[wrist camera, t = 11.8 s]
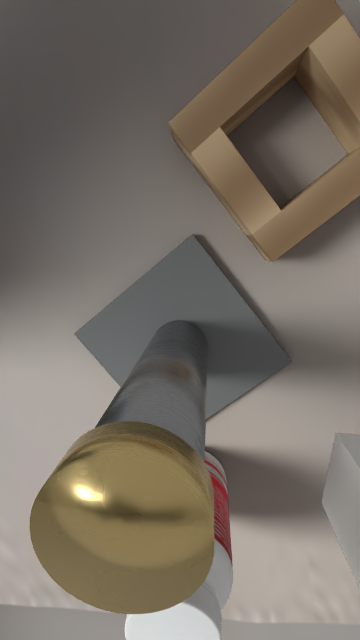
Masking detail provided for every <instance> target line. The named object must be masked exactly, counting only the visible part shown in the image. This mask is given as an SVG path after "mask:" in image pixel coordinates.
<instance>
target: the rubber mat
mask: <svg viewBox="0 0 360 640" xmlns="http://www.w3.org/2000/svg"><path fill="white" fill-rule="evenodd" d="M174 320H183V321H188V322H191V323H193V324H194V325H196V326H197V327H199V328H200V329H201V331H202V332H203V333H204V335H205V337H206V339H207V343H208V362H207V394H206V419H207V418H209V417H210V416H212V415H213V414H215V413H216V412H218V411H219V410H221V409H222V408H224V407H225V406H227V405H228V404H230V403H231V402H233V401H234V400H235V399H237V398H238V397H240V396H241V395H243V394H244V393H246V392H247V391H249V390H250V389H252V388H253V387H255V386H256V385H258V384H259V383H261V382H262V381H264V380H265V379H266V378H268V377H269V376H271V375H272V374H274V373H275V372H277V371H278V370H280V369H281V368H283V367H284V366H286V365H287V364H289V363H290V362H292V361H291V359H290V358H289V357H288V355H287V354H286V353H285V352H284V350H283V349H282V348H281V346H280V345H279V344H278V343H277V341H276V340H275V339H274V337H273V336H272V335H271V334H270V332H269V331H268V330H267V329H266V327H265V326H264V325H263V323H262V322H261V321H260V320H259V318H258V317H257V316H256V314H255V313H254V312H253V311H252V309H251V308H250V307H249V305H248V304H247V303H246V302H245V300H244V299H243V298H242V297H241V295H240V294H239V293H238V291H237V290H236V289H235V288H234V286H233V285H232V284H231V282H230V281H229V280H228V279H227V277H226V276H225V275H224V274H223V272H222V271H221V270H220V268H219V267H218V266H217V265H216V263H215V262H214V261H213V259H212V258H211V257H210V256H209V254H208V253H207V252H206V250H205V249H204V248H203V247H202V245H201V244H200V243H199V242H198V240H197V239H196V238H195V236H194V235H193V234H192V235H191V236H190V237H189V238H188V239H186V240H185V241H184V242H183V243H182V244H181V245H179V246H178V247H177V248H176V249H175V250H173V251H172V252H171V253H170V254H169V255H167V256H166V257H165V258H164V259H163V260H161V261H160V262H159V263H158V264H157V265H156V266H154V267H153V268H152V269H151V270H150V271H148V272H147V273H146V274H145V275H144V276H142V277H141V278H140V279H139V280H138V281H136V282H135V283H134V284H133V285H132V286H131V287H129V288H128V289H127V290H126V291H125V292H123V293H122V294H121V295H120V296H119V297H117V298H116V299H115V300H114V301H113V302H111V303H110V304H109V305H108V306H107V307H106V308H104V309H103V310H102V311H101V312H100V313H98V314H97V315H96V316H95V317H94V318H92V319H91V320H90V321H89V322H88V323H87V324H85V325H84V326H83V327H82V328H81V329H79V330H78V331H77V332H76V333H75V335H76V336H77V338H78V339H79V340H80V341H81V342H82V343H83V344H84V346H85V347H86V348H87V349H88V350H89V351H90V352H91V354H92V355H93V356H94V357H95V358H96V359H97V360H98V362H99V363H100V364H101V365H102V366H103V367H104V368H105V370H106V371H107V372H108V373H109V374H110V375H111V376H112V378H113V379H114V380H115V381H116V382H117V383H118V384H119V386H120V387H121V386H122V385H123V383H124V381H125V380H126V378H127V377H128V375H129V374H130V372H131V371H132V369H133V367H134V366H135V364H136V363H137V361H138V360H139V358H140V356H141V355H142V353H143V352H144V350H145V349H146V347H147V345H148V344H149V342H150V341H151V339H152V338H153V336H154V335H155V333H156V331H157V330H158V329H159V328H160V327H161V326H162V325H164V324H166V323H168V322H170V321H174Z"/></svg>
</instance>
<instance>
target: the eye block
mask: <svg viewBox="0 0 360 640" xmlns="http://www.w3.org/2000/svg"><path fill="white" fill-rule="evenodd" d="M293 76H295V78H296V79H297V81H298V82H299V84H300V85H301V87H302V88H303V89H304V91H305V92H306V94H307V95H308V97H309V98H310V100H311V101H312V103H313V104H314V105H315V107H316V108H317V110H318V111H319V113H320V114H321V116H322V117H323V119H324V120H325V122H326V123H327V124H328V126H329V127H330V129H331V130H332V132H333V133H334V135H335V136H336V138H337V139H338V140H339V142H340V143H341V145H342V146H343V148H344V149H345V151H346V152H347V154H348V155H347V156H345V157H344V158H343V159H342V160H340V161H339V162H338V163H337V164H335V165H334V166H333V167H332V168H330V169H329V170H328V171H327V172H325V173H324V174H323V175H322V176H320V177H319V178H318V179H317V180H315V181H314V182H313V183H312V184H310V185H309V186H308V187H307V188H305V189H304V190H303V191H302V192H300V193H299V194H298V195H297V196H295V197H294V198H293V199H292V200H290V201H289V202H288V203H287V204H285V205H284V206H283V207H282V208H281V209H280V208H279V207H278V205H277V204H276V203H275V201H274V200H273V199H272V197H271V196H270V195H269V193H268V192H267V190H266V189H265V188H264V186H263V185H262V184H261V182H260V181H259V180H258V178H257V177H256V175H255V174H254V173H253V171H252V170H251V169H250V167H249V166H248V165H247V163H246V162H245V160H244V159H243V158H242V156H241V155H240V154H239V152H238V151H237V150H236V148H235V147H234V145H233V144H232V143H231V141H230V140H229V139H228V137H227V136H228V135H229V134H230V133H231V132H232V131H233V130H234V129H235V128H237V127H238V126H239V125H240V124H241V123H242V122H243V121H244V120H245V119H247V118H248V117H249V116H250V115H251V114H252V113H253V112H254V111H256V110H257V109H258V108H259V107H260V106H261V105H262V104H263V103H264V102H266V101H267V100H268V99H269V98H270V97H271V96H272V95H273V94H274V93H276V92H277V91H278V90H279V89H280V88H281V87H282V86H283V85H285V84H286V83H287V82H288V81H289V80H290V79H291V78H292V77H293ZM168 124H169V127H170V130H171V133H172V135H173V138H174V140H175V142H176V143H177V144H178V146H179V147H180V148H181V150H182V151H183V152H184V154H185V155H186V156H187V158H188V159H189V160H190V162H191V163H192V164H193V165H194V167H195V168H196V169H197V171H198V172H199V173H200V175H201V176H202V177H203V179H204V180H205V181H206V183H207V184H208V185H209V187H210V188H211V189H212V191H213V192H214V193H215V194H216V196H217V197H218V198H219V200H220V201H221V202H222V204H223V205H224V206H225V208H226V209H227V210H228V212H229V213H230V214H231V216H232V217H233V218H234V220H235V221H236V222H237V224H238V225H239V226H240V227H241V229H242V230H243V231H244V233H245V234H246V235H247V237H248V238H249V239H250V241H251V242H252V243H253V245H254V246H255V247H256V249H257V250H258V251H259V253H260V254H261V255H262V257H263V258H264V259H265V260H268V261H272V262H274V261H275V260H276V259H277V258H279V257H280V256H281V255H283V254H284V253H285V252H287V251H288V250H289V249H291V248H292V247H293V246H294V245H296V244H297V243H298V242H300V241H301V240H302V239H304V238H305V237H306V236H308V235H309V234H310V233H311V232H313V231H314V230H315V229H317V228H318V227H319V226H321V225H322V224H323V223H324V222H326V221H327V220H328V219H330V218H331V217H332V216H334V215H335V214H336V213H338V212H339V211H340V210H341V209H343V208H344V207H345V206H347V205H348V204H349V203H351V202H352V201H353V200H355V199H356V198H357V197H358V196H360V38H359V37H358V35H357V34H356V32H355V31H354V29H353V27H352V26H351V24H350V23H349V21H348V20H347V18H346V17H345V15H344V14H343V12H342V10H341V9H340V7H339V6H338V4H337V3H336V1H335V0H296V1H295V2H294V3H293V4H292V5H291V6H290V7H289V8H288V9H287V10H286V11H285V12H284V13H283V14H282V15H280V16H279V17H278V18H277V19H276V20H275V21H274V22H273V23H272V24H271V25H270V26H269V27H268V28H267V29H266V30H265V31H264V32H263V33H262V34H261V35H260V36H258V37H257V38H256V39H255V40H254V41H253V42H252V43H251V44H250V45H249V46H248V47H247V48H246V49H245V50H244V51H243V52H242V53H241V54H240V55H239V56H237V57H236V58H235V59H234V60H233V61H232V62H231V63H230V64H229V65H228V66H227V67H226V68H225V69H224V70H223V71H222V72H221V73H220V74H219V75H218V76H217V77H215V78H214V79H213V80H212V81H211V82H210V83H209V84H208V85H207V86H206V87H205V88H204V89H203V90H202V91H201V92H200V93H199V94H198V95H197V96H196V97H194V98H193V99H192V100H191V101H190V102H189V103H188V104H187V105H186V106H185V107H184V108H183V109H182V110H181V111H180V112H179V113H178V114H177V115H176V116H175V117H174V118H172V119H171V120H170V121H169V122H168Z"/></svg>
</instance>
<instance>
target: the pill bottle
mask: <svg viewBox="0 0 360 640" xmlns="http://www.w3.org/2000/svg"><path fill="white" fill-rule="evenodd" d="M204 464H205V465H206V467H207V469H208V472H209V474H210V476H211V480H212V484H213V490H214V557H213V562H212V566H211V568H210V571H209V574H208V575H207V577H206V579H205V581H204V582H203V583H202V585H201V586H200V587H199V588H198V590H197V591H195V592H194V593H193V594H192V595H191V596H190V597H189V598H187V599H186V600H184V601H183V602H181V603H179V604H177V605H175V606H173V607H171V608H168V609H165V610H162V611H158V612H154V613H146V614H127V618H126V623H125V636H126V640H221V621H222V615H221V609H222V608H223V606H224V605H225V603H226V602H227V600H228V598H229V595H230V592H231V588H232V581H233V570H232V552H231V538H230V522H229V507H228V487H227V479H226V475H225V472H224V469H223V467H222V466H221V464H220V463H219V461H218V460H217V459H216V458H215V457H214V456H212V455H211V454H209V453H208V452H206V451H205V459H204Z"/></svg>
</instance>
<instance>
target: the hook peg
mask: <svg viewBox="0 0 360 640" xmlns="http://www.w3.org/2000/svg"><path fill="white" fill-rule="evenodd" d="M207 362H208V343H207V339H206V337H205V335H204V333H203V332H202V331H201V329H200V328H199V327H197V326H196V325H194V324H193V323H191V322H188V321H183V320H174V321H170V322H168V323H166V324H164V325H162V326H161V327H160V328H159V329H158V330H157V331H156V333H155V335H154V336H153V338H152V339H151V341H150V342H149V344H148V345H147V347H146V349H145V350H144V352H143V353H142V355H141V356H140V358H139V360H138V361H137V363H136V364H135V366H134V367H133V369H132V371H131V372H130V374H129V375H128V377H127V378H126V380H125V381H124V383H123V385H122V386H121V388H120V389H119V391H118V392H117V394H116V396H115V397H114V399H113V400H112V402H111V403H110V405H109V407H108V408H107V410H106V411H105V413H104V414H103V416H102V417H101V419H100V421H99V422H98V424H97V425H96V427H95V428H94V429H92V430H90V431H88V432H87V433H85V434H84V435H82V436H81V437H80V438H79V439H78V440H77V441H76V442H74V444H73V445H72V446H71V447H70V449H69V450H68V451H67V453H66V454H65V456H64V457H63V458H62V460H61V461H60V463H59V464H58V466H57V467H56V468H55V470H54V471H53V473H52V474H51V476H50V477H49V478H48V480H47V481H46V483H45V484H44V486H43V487H42V488H41V490H40V492H39V493H38V495H37V497H36V499H35V501H34V504H33V507H32V510H31V516H30V535H31V540H32V544H33V548H34V550H35V553H36V555H37V557H38V559H39V561H40V563H41V564H42V566H43V568H44V569H45V570H46V572H47V573H48V574H49V576H50V577H51V578H52V579H53V580H54V581H55V582H56V583H57V584H58V585H59V586H61V587H62V588H63V589H64V590H65V591H67V592H68V593H70V594H71V595H72V596H74V597H76V598H77V599H79V600H81V601H83V602H85V603H87V604H89V605H92V606H94V607H97V608H100V609H103V610H106V611H111V612H116V613H123V614H146V613H154V612H158V611H162V610H165V609H168V608H171V607H173V606H175V605H177V604H179V603H181V602H183V601H184V600H186V599H187V598H189V597H190V596H191V595H192V594H193V593H194V592H195V591H197V590H198V588H199V587H200V586H201V585H202V583H203V582H204V581H205V579H206V577H207V575H208V574H209V571H210V568H211V566H212V562H213V557H214V490H213V484H212V480H211V476H210V474H209V472H208V469H207V467H206V465H205V464H204V459H205V427H206V394H207Z"/></svg>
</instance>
